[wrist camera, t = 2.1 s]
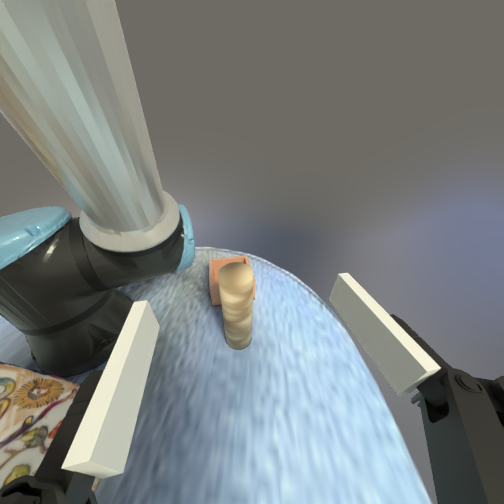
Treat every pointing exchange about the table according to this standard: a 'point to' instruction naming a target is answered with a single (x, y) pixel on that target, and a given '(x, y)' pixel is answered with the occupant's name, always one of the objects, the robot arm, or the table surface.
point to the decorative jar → (30, 418)
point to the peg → (237, 303)
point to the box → (213, 275)
